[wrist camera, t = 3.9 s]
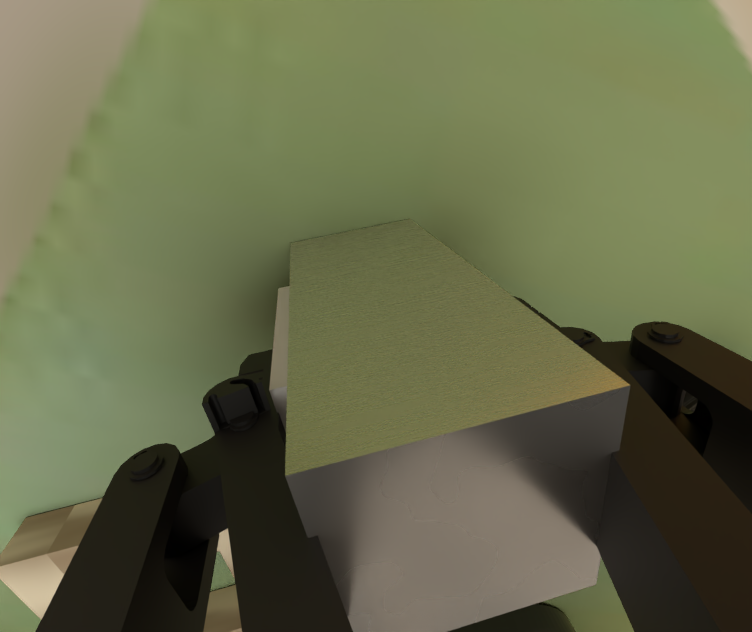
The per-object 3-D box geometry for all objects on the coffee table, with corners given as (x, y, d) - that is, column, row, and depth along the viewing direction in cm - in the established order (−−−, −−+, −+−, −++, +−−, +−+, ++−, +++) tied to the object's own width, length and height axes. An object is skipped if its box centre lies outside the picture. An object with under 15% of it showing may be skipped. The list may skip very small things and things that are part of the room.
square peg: (421, 323, 19) (595, 584, 8) (317, 347, 18) (353, 661, 7) (409, 218, 16) (630, 385, 6) (290, 242, 16) (285, 475, 5)
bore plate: (440, 552, 26) (454, 591, 24) (133, 643, 24) (116, 695, 22) (423, 415, 21) (438, 449, 19) (26, 517, 19) (-10, 569, 17)
